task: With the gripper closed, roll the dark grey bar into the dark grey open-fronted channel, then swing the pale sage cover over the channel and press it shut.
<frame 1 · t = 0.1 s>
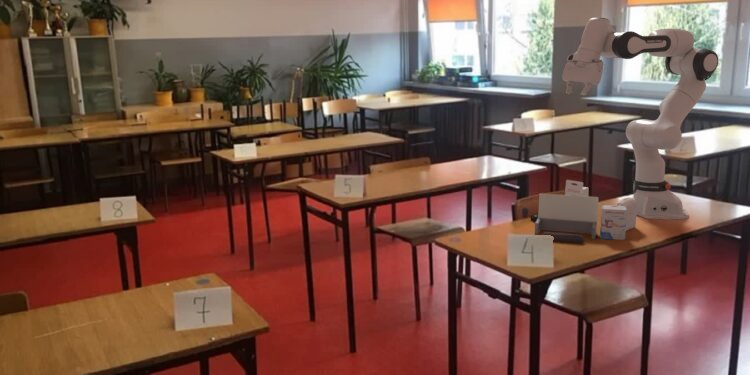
hand: (575, 94, 245), 52 cm above the table, tool tilted 20°, fingers open, 8 cm apart
ink box: (612, 238, 238), on the table
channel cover: (567, 207, 247), point 9 cm above the table, hinge at 100.0°, touching cable channel
ink cartridge box: (576, 214, 271), on the table
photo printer: (625, 229, 248), on the table
cable channel: (565, 233, 244), on the table
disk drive: (551, 224, 259), on the table
dark grey bar: (562, 237, 236), point 1 cm above the table
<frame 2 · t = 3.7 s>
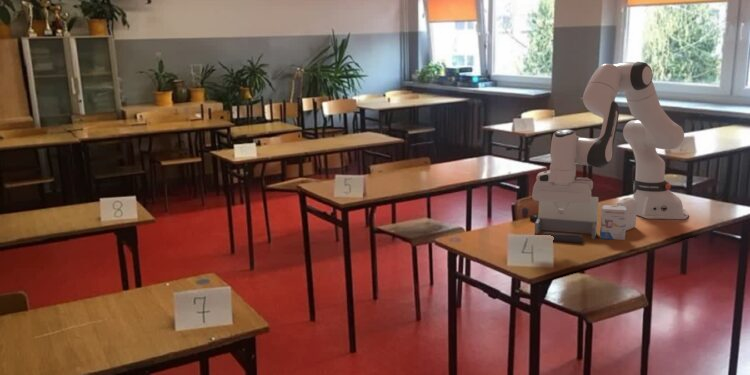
hand: (560, 213, 227), 12 cm above the table, tool pointing down, fingers closed
nothing on the table moved.
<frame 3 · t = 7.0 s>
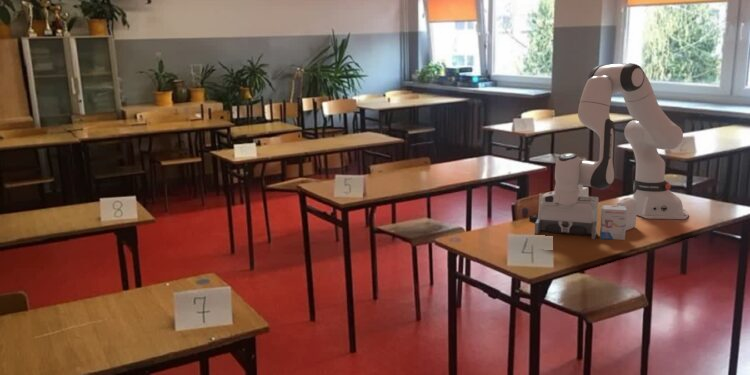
hand: (565, 232, 241), 1 cm above the table, tool pointing down, fingers closed
dark grey bar: (565, 229, 245), point 1 cm above the table, tilted 56°
everything else where it was.
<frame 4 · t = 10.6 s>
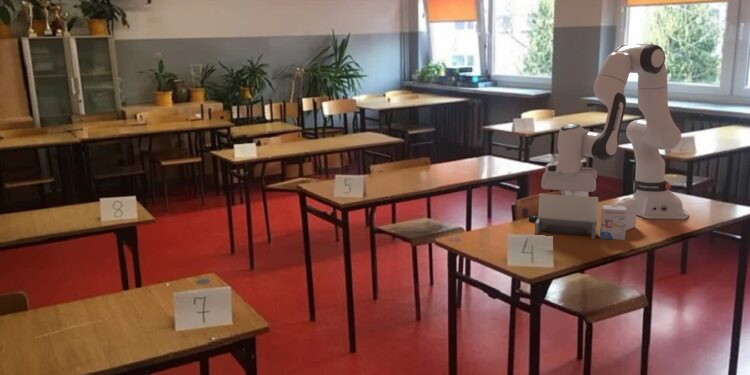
hand: (567, 201, 248), 11 cm above the table, tool pointing down, fingers closed, pressing on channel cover
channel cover: (567, 207, 246), point 9 cm above the table, hinge at 97.5°, touching gripper
dark grey bar: (565, 230, 244), point 1 cm above the table, tilted 30°
everything else where it was.
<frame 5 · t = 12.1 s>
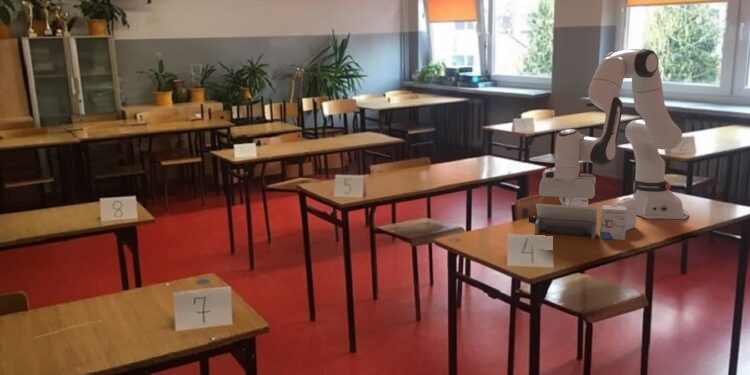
hand: (566, 208, 242), 10 cm above the table, tool pointing down, fingers closed, pressing on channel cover
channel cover: (566, 212, 243), point 8 cm above the table, hinge at 45.4°, touching gripper
dark grey bar: (565, 230, 244), point 1 cm above the table, tilted 13°
everything else where it was.
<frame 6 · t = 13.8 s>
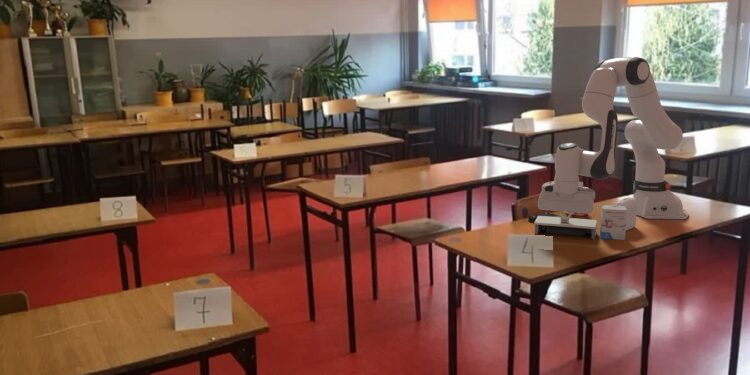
hand: (564, 222, 241), 5 cm above the table, tool pointing down, fingers closed, pressing on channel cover
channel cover: (565, 222, 242), point 5 cm above the table, hinge at 0.0°, touching cable channel, gripper
dark grey bar: (565, 230, 243), point 1 cm above the table, tilted 6°
everything else where it was.
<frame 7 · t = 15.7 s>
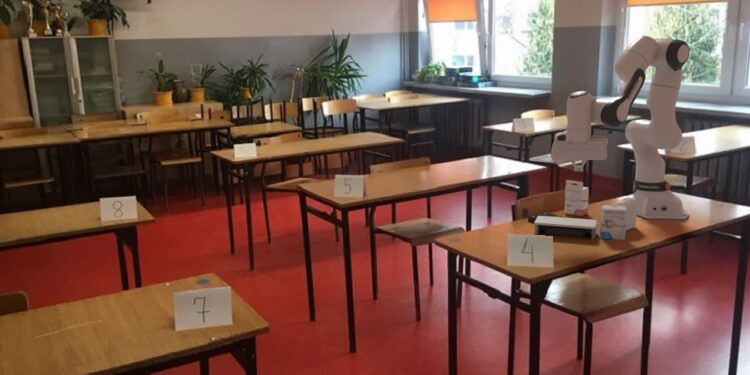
hand: (578, 170, 242), 24 cm above the table, tool pointing down, fingers closed
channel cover: (565, 222, 242), point 5 cm above the table, hinge at 0.0°, touching cable channel
dark grey bar: (565, 231, 243), point 1 cm above the table, tilted 26°
everything else where it was.
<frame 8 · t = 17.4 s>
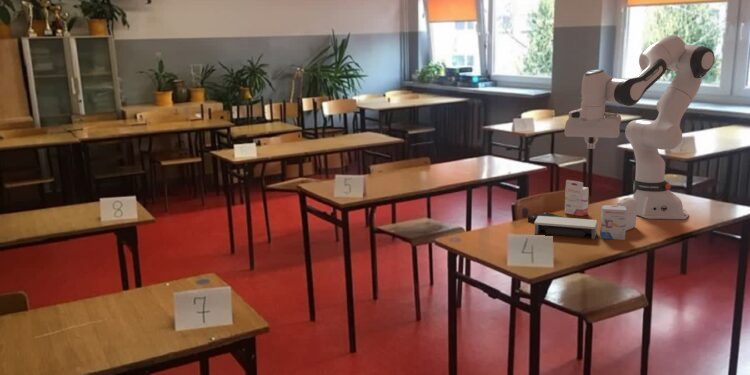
hand: (591, 148, 247), 31 cm above the table, tool pointing down, fingers closed
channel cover: (565, 222, 242), point 5 cm above the table, hinge at 0.0°
dark grey bar: (565, 231, 242), point 1 cm above the table, tilted 45°
everything else where it was.
at the end: dark grey bar inside the target area (1.1 cm from its centre), point 1.3 cm above the table; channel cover at +0° (first picture: +100°); the gripper is holding nothing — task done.
